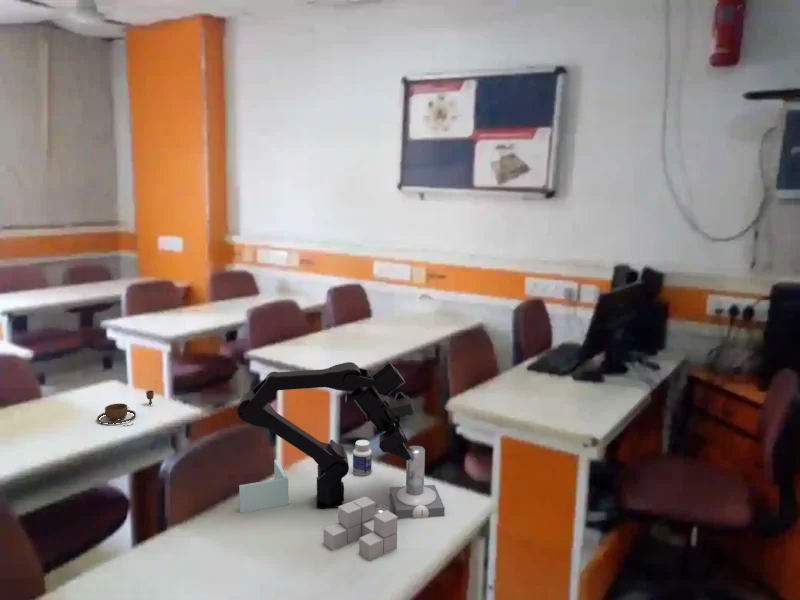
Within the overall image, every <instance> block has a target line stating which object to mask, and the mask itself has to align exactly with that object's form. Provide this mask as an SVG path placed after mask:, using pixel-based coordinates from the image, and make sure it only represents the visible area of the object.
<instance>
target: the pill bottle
mask: <svg viewBox="0 0 800 600" xmlns="http://www.w3.org/2000/svg"><path fill="white" fill-rule="evenodd" d="M370 443H371V442H370V441H369V440H367V439H359V440H356V442H355V446H354V447H355V449H353V451H352V472H353V474H354V475H356V476H360V477H365V475H366V476H368V475H370V474H371V473H372V464H373V463H372V457H373V455H372V454H373V451H372V450H371V448H370V446H371V444H370Z"/></svg>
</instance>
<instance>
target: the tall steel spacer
mask: <svg viewBox="0 0 800 600" xmlns="http://www.w3.org/2000/svg"><path fill="white" fill-rule="evenodd" d="M406 448H407V450H408V452H409V454H410V456H411V459H410V460H406V469H405V470H406V471H405V472H406V473H405V474H406V475H405V486H406V493H408V494H409V495H421V494H423V492H424V485H425V459H426V456H425V455H426V450H425V448H424V447H423V446H421V445H410V446H408V447H406Z"/></svg>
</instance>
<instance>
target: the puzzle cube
mask: <svg viewBox="0 0 800 600" xmlns="http://www.w3.org/2000/svg"><path fill="white" fill-rule="evenodd" d="M375 505H376V502H375V501H373V500H372V498H371V499H370V498H369V497H367V496H363V497H360V498H357V499H355V500H353V501H349V502H347V503H344V504H343V505H341V506H339V507H337V509H338V510H337V512H338V513H337V514H338V516H337V519H338V520H337V521H338V522H337V523H335V524H332V525H329V526H327V527H324V528H323V544H324V545H325V546H326V547H327V548H329V549H330V550H332V551H336V550H339V549H340V548H343V547H345V546H347V545H350V544H352V543H354V542H357V541H358V540H359V541H358V544H359V545H358V546H359V547H358V554H360V555H361V556H362V557H364V558H365V559H366V560H368V561H373V560H374V559H376V558H378V557H380V556H383V555H385V554H388V553H389V552H392V551H394V550H397V549H398V519H399V518H398V517H397V516H396V515H395V513H392V512H391V511H390V510H389V511H388V510H386V511H383V512H381V513H378V514H376V515H375Z"/></svg>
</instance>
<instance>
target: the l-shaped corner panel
mask: <svg viewBox="0 0 800 600" xmlns="http://www.w3.org/2000/svg"><path fill="white" fill-rule="evenodd" d="M273 462H274V463H273V464H274V466H273V467H274V468H273V470H274V479H269V480H263V481H258V482H257V481H256V482H251V483H245V484H239V486H238V487H239V488H238V489H239V491H238V493H239V496H238V497H239V512H240V514H246V513H250V512H251V513H252V512H256V511H261V510H267V509H271V508H277V507H283V506H284V507H285V506H288V505H289V499H290V498H289V478H288V476H287V474H286V473H285V471H284V469H283V467H282V465H281V463H280V461H279V460H278V459H274V460H273Z"/></svg>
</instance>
